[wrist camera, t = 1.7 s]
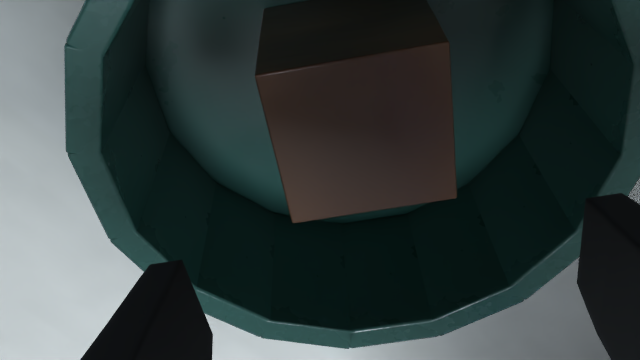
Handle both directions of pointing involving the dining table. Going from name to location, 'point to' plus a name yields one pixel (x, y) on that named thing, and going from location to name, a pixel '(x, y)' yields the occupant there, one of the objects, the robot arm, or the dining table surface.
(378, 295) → the tin
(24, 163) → the dining table surface
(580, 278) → the robot arm
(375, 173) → the block
